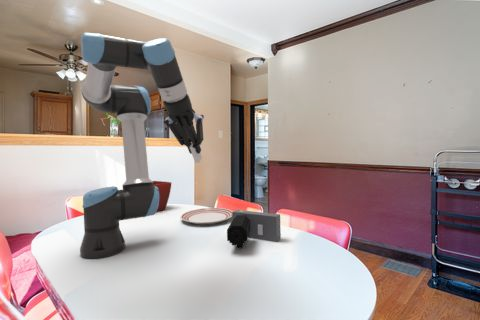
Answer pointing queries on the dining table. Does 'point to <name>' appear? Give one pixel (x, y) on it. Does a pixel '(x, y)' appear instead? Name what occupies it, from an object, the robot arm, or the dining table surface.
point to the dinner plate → (207, 216)
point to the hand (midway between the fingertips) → (198, 160)
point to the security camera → (238, 231)
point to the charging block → (262, 225)
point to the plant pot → (163, 193)
